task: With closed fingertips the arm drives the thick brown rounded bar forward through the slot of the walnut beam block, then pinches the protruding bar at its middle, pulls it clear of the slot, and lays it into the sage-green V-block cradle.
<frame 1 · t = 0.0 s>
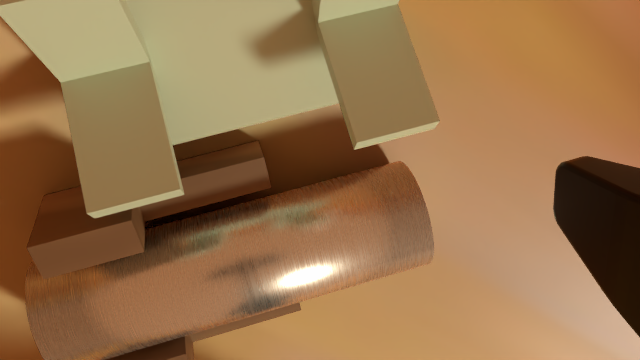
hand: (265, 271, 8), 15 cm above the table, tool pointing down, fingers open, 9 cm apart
cradle: (232, 33, 21), on the table
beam: (188, 245, 25), on the table
brown rounded bar: (232, 230, 25), on the table
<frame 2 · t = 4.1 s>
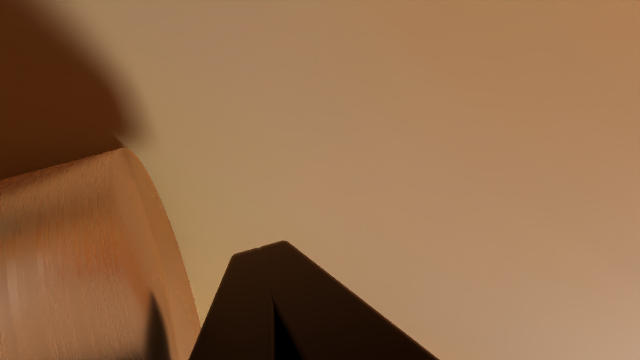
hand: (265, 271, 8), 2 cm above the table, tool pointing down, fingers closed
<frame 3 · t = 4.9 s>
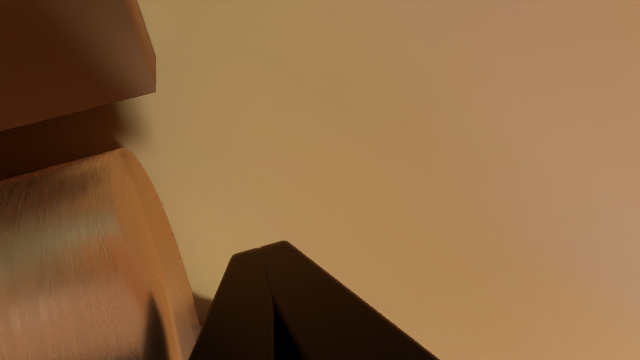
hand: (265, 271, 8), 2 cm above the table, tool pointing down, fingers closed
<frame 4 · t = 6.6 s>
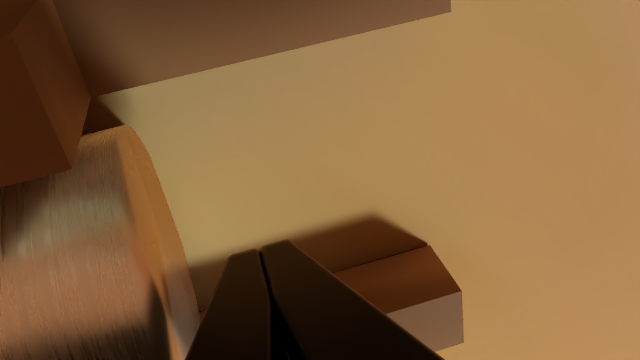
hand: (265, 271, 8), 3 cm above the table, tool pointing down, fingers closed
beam: (210, 189, 10), on the table
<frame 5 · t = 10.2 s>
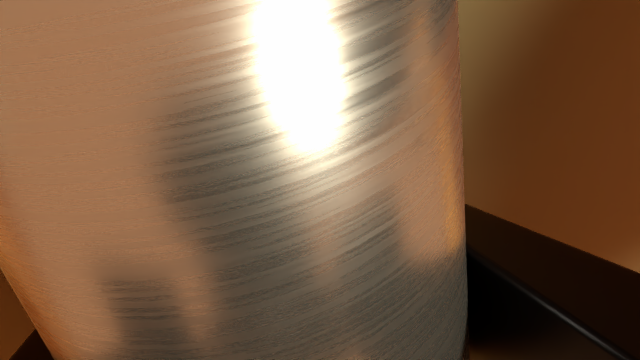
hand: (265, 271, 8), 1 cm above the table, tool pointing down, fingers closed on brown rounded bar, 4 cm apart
brown rounded bar: (245, 229, 9), on the table, touching gripper
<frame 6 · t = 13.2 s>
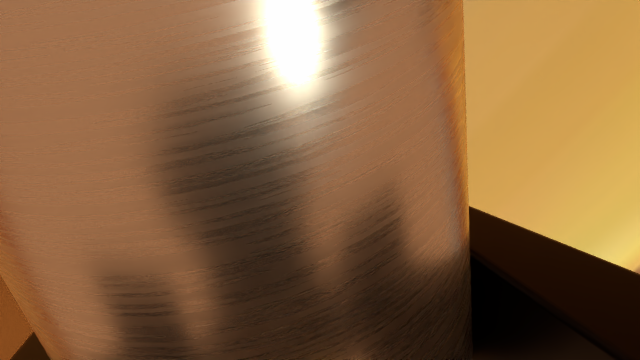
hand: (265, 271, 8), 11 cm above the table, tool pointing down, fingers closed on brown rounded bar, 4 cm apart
brown rounded bar: (244, 227, 9), point 10 cm above the table, touching gripper
when the fingers open (4 cm above the table, at t = 16.1 s): brown rounded bar drops 1 cm, resting on cradle.
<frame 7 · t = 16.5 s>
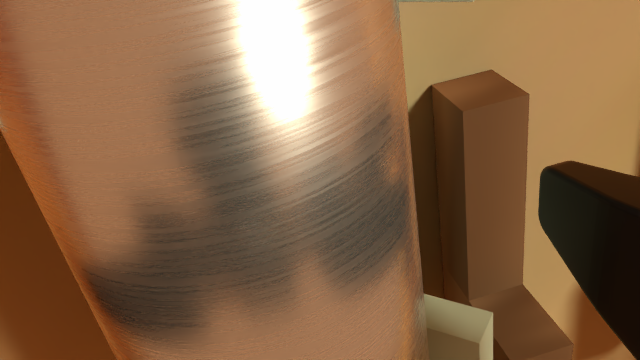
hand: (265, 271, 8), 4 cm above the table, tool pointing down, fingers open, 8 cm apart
cradle: (228, 136, 12), on the table
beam: (585, 190, 15), on the table
brown rounded bar: (233, 182, 10), point 2 cm above the table, touching cradle
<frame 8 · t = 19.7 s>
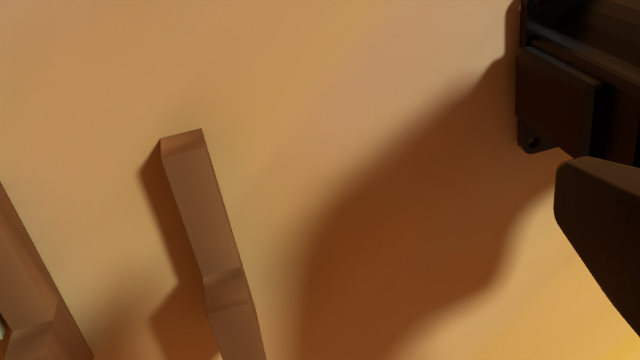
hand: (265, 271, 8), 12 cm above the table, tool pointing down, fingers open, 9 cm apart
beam: (121, 251, 21), on the table
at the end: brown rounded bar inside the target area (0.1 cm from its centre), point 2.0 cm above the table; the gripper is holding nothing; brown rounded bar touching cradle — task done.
